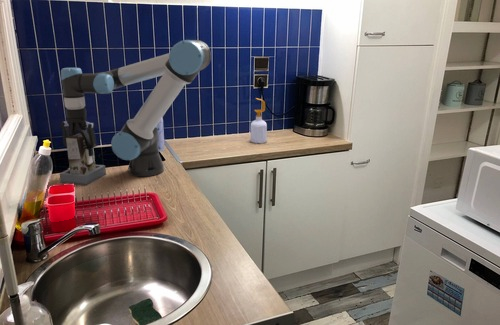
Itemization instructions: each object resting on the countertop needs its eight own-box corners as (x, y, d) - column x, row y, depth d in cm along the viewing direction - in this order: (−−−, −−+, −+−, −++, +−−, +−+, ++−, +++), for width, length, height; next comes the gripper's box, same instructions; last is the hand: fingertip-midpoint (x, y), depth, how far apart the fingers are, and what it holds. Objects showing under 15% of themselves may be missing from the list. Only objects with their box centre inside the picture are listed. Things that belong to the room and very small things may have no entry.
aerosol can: (147, 149, 215) (144, 111, 209) (161, 146, 219) (158, 110, 213) (153, 152, 209) (150, 114, 203) (167, 150, 213) (165, 112, 207)
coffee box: (84, 177, 166) (79, 138, 161) (70, 176, 167) (64, 137, 162) (96, 170, 174) (92, 133, 170) (83, 169, 176) (78, 132, 171)
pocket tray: (106, 174, 177) (105, 164, 176) (87, 185, 164) (85, 175, 162) (81, 172, 179) (80, 162, 178) (60, 182, 166) (59, 172, 165)
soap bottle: (248, 140, 235) (248, 97, 227) (263, 139, 238) (264, 96, 230) (253, 144, 227) (253, 99, 219) (268, 142, 229) (269, 99, 222)
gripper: (102, 107, 164) (108, 161, 171) (60, 105, 168) (67, 158, 175) (92, 110, 157) (98, 167, 164) (47, 108, 161) (55, 163, 168)
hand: (82, 162), depth 169 cm, fingers closed on coffee box, 6 cm apart
